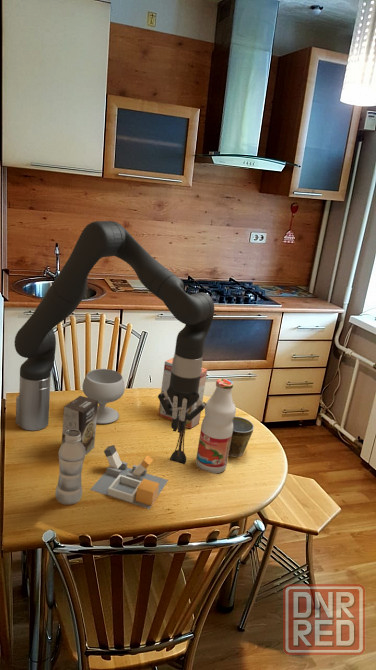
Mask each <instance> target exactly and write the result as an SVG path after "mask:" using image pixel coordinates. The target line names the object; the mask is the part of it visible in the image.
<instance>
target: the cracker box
mask: <svg viewBox="0 0 376 670" xmlns="http://www.w3.org/2000/svg"><path fill="white" fill-rule="evenodd" d="M173 358H174V357H172V358H169V359H167V360H165V361H164V365H163V366H164V367H163V373H162V375H163V376H162V381H161V388H160V393H161V392H162V391H164V392H165V391H167V389H168V388H169V385H170V377H171V370H172V362H173ZM207 375H208V368H204V367H202V372H201V376H200V383H199V389H198V394H199V399H200V400H201V401H202V402H204V401H203V400H204V394H205V388H206V381H207ZM168 399H169V401H170V403H171V405H172V407H173V404H172V402H171V400H170V398H168ZM195 406H196V403H194V404H193V405H192V410H191V411H190V412H189V413H188V414H190V413H191V412H192V411H194V410H195V409H196V407H195ZM201 414H202V411H201V412H200V413H199V414H198V415H197V416H195V417H194V418H193V419H192V420H191V421H188V420H187V421H186V428H188V429H190V430H191V429H193V428H194V427H197V426H198V425H199V424H200V421H201V420H200V419H201ZM157 415H158V416H161V417H162V418H165V419H167V420H170V421H172V416H170V415H167V414H166V412H165V410H164V408H163V406H162V404H161V402H160V401H159V405H158V413H157ZM179 416H180V417H181V412H180V413H179ZM180 417H179V420H180Z"/></svg>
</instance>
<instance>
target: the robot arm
mask: <svg viewBox="0 0 376 670" xmlns="http://www.w3.org/2000/svg"><path fill="white" fill-rule="evenodd" d="M107 257H109V258H110V257H116V258H118V259H120V260H122V261H123V262H125V263H126V264H127V265H129V266H130V267H131V268H132V270H133V271H134V273H135V275H136V276H137V278H138V280H139V282H140V283H141V284H142V285H143V287H145V288H146V289H147V291H149V292H150V293H152V294H153V295H154V296H156V298H158V299H159V300H161V301H162V302H163V304H164V305H165V306H166V308H167V309H168V311H169V312H170V313H171V315H172V317H174V318H175V319H176V320H177V321H178V322H180V323H182V324H184V327H183V328H182V329H181V330H180V331H179V332H177V333H178V334H177V336H176V340H175V341H176V342H175V348H174V354H173V357H172V358H173V362H172V370H171V377H170V385H169V388H168V389H167V391H165V392H164V391H162V392H161V391H160V393H159V394H158V395H157V398H158V400H159V403H160V402H161V404H162V406H163V408H164V410H165V412H166V414H167V415H170V416H172V420H171V426H170V428H171V429H172V432H174V433H175V432H176V433H179V434H180V433H181V431H183V430H184V429H185V430H186V428H185V424H186V420H188V421H191V420H192V419H193V418H194V417H195V416H197V415H198V414H199V413H200V412H201V413H202V412H203V410H205V406H206V403H207V402H205V401H201V400H200V399H199V394H198V389H199V383H200V376H201V372H202V368H203V355H204V349H205V342H206V341H205V340H206V338H207V335H208V333H209V330H210V328H211V325H212V323H213V319H214V314H215V303H214V302H215V301H214V300H213V298H212V296H210V295H209V294H208V293H205V292H196V293H192V294H189V293H187V292H186V291H185V290H184V289H185V287H184V286H185V285H184V281H183V280H182V279H181V278H180V277H179V276H177V275H176V274H174V273H173V272H172V271H171V270H169V269H168V268H166V267H165V265H162V263H160V262H159V261H158V260H156V259H155V258H154V257H153V256H152V255H151V254H150V253H149V252H148V251H147V250H145V248H144V247H143V246H142V245H141V244H140V243H139V242H138V241H137V239H135V238H134V237H133V236H132V234H130V233H129V231H128V230H127V229H126V228H125V227H124V226H123V225H122V224H121V223H119V222H117V221H114V220H96V221H92V222H89V223H88V224H87V225H86V226H85V227H84V228H83V229H82V231H81V233H80V234H79V237H78V239H77V241H76V243H75V245H74V248H73V249H72V251H71V253H70V256H69V257H68V259H67V261H65V264H64V265H63V267H62V268H61V270H60V272H59V273H58V275H57V276H56V277H55V279H54V280H53V281H52V284H51V285H50V287H49V288H48V290H47V291H46V293H45V295H44V297H43V298H42V299H41V301H39V303H38V305H37V307H36V309H35V310H34V311H33V313H32V314H31V316H30V317H29V318H28V319H27V321H25V322H24V324H23V325H22V326H21V327H20V329H19V330H18V331H17V332H16V334H15V337H14V349H15V351H16V353H17V354H18V355H19V356H21V358H25V361H23V363H22V364H21V366H20V367H19V390H18V391H19V392H18V393H19V395H17V396H16V399H15V401H16V402H15V404H16V405H15V424H16V425H17V426H19V427H20V429H23V430H25V431H40V430H43V429H45V428H47V426H48V425H49V417H50V401H51V400H50V398H51V397H50V396H51V394H50V393H51V380H52V379H51V378H52V376H51V375H52V370H53V369H54V368H53V367H54V365H55V357H56V350H57V349H56V348H57V346H56V345H57V338H56V334H55V331H54V328H55V327H56V326H58V325H59V324H61V323H62V322H63V321H65V320H66V319H67V318H68V317H69V316H70V315H72V314H73V313H74V311H75V310H76V309H77V308H78V307H79V305H80V303H81V302H82V301H83V300H84V298H85V296H86V294H87V289H88V276H89V274H90V272H91V270H92V269H93V268H94V266H95V265H96V264H97V263H98V262H99V261H100V260H101V259H102V258H107ZM168 398H170V400H171V402H172V404H173V407H172V405H171V403H170V401H169V399H168ZM194 403H196V406H195V407H196V409H195V410H194V411H192V412H191V413H190V414H188V410H189V408H190V407H191V406H192V405H193V404H194ZM180 407H181V417H180V416H179V413H180ZM179 417H180V420H179Z"/></svg>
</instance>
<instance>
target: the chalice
mask: <svg viewBox="0 0 376 670" xmlns="http://www.w3.org/2000/svg"><path fill="white" fill-rule="evenodd" d="M125 388H126V386H125V380H124V378H123V375H122V374H121V373H120V372H118V371H116V370H113V369H108V368H96V369H93V370H90V371H89V372H88V373H87V374H86V375H85V377H84V379H83V381H82V388H81V389H82V392H83V394H84V395H85V397H87V398H91V399H94V400H97V401H98V408H97V419H96V424H102V425H104V424H112V423H114V422H116V421H118V420H119V417H120V413H119V412H118V411H117V410H116V409H114V408H112V407H109V406H106V405H107V404H108V403H113V402H115V401H116V402H117V400H120V399H121V398H122V396H124V393H125Z"/></svg>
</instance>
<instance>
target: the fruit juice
mask: <svg viewBox="0 0 376 670" xmlns="http://www.w3.org/2000/svg"><path fill="white" fill-rule="evenodd" d="M215 387H216V388H215V389H214V391H213V394H212V395H211V397H210V398H209V399H208V400H207V402H205V403H206V406H205V408H204V417H203V419H202V422H201V426H200V434H199V439H198V444H197V452H196V457H195V464H196V466H197V468H198V469H200V470H202V471H204V472H209V473H212V474H220V473H221V474H222V472H224V471H225V470H226V467H227V465H228V460H229V459H228V458H229V449H230V444H231V438H232V433H233V419H234V417H236V413H237V406H236V405H235V402H234V399H233V395H232V390H233V387H234V382H233V381H232V380H231V379H227V378H219V379H216V382H215Z"/></svg>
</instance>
